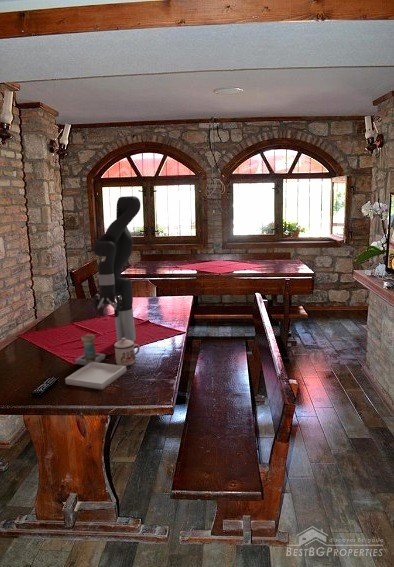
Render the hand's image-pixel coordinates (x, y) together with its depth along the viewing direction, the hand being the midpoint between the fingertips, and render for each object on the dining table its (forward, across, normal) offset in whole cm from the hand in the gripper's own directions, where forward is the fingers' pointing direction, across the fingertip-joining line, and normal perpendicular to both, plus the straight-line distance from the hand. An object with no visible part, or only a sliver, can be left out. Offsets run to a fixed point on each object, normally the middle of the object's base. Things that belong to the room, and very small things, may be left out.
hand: (108, 316), depth 218 cm
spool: (+18, +2, +14) cm, 23 cm away
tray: (+19, -12, +28) cm, 36 cm away
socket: (+18, +2, +14) cm, 23 cm away
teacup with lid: (+18, -16, +9) cm, 26 cm away
